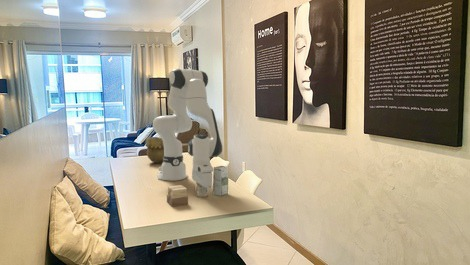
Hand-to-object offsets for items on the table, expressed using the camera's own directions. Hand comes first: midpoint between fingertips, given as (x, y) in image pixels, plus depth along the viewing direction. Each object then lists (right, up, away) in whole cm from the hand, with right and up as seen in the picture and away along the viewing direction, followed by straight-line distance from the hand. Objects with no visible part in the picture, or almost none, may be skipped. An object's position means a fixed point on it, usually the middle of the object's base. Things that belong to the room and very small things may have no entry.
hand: (201, 192), depth 183 cm
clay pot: (-39, +8, +85) cm, 94 cm away
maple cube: (0, -2, 0) cm, 2 cm away
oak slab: (-10, +1, -14) cm, 17 cm away
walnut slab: (-10, -3, -13) cm, 17 cm away
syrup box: (+10, -2, +3) cm, 10 cm away
